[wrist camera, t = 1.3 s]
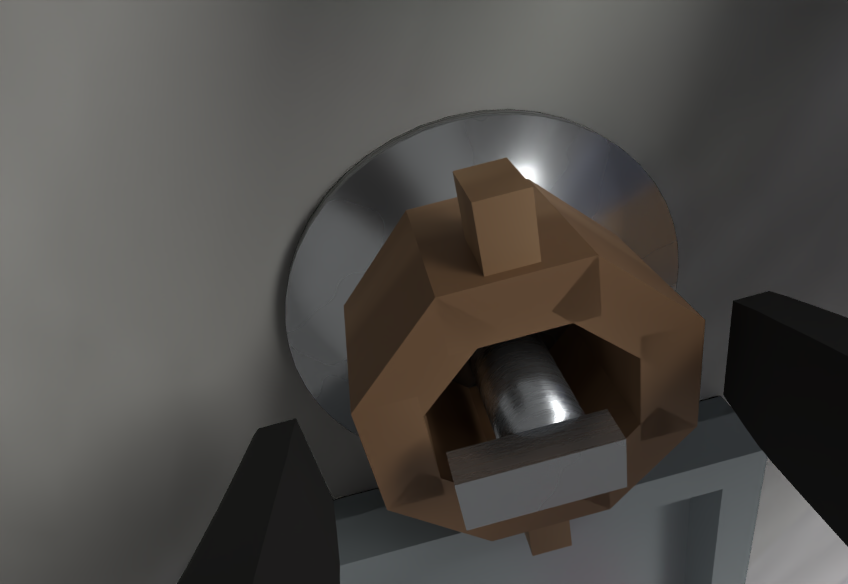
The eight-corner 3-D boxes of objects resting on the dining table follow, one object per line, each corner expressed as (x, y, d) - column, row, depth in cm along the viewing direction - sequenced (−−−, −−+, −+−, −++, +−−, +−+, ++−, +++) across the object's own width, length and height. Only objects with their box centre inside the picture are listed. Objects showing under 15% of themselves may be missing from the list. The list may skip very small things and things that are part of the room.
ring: (612, 93, 10) (718, 145, 7) (620, 416, 14) (690, 523, 11) (298, 174, 9) (291, 256, 7) (401, 475, 13) (420, 597, 11)
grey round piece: (674, 59, 10) (907, 130, 6) (664, 397, 14) (796, 568, 10) (220, 174, 10) (153, 325, 6) (349, 481, 14) (360, 690, 10)
